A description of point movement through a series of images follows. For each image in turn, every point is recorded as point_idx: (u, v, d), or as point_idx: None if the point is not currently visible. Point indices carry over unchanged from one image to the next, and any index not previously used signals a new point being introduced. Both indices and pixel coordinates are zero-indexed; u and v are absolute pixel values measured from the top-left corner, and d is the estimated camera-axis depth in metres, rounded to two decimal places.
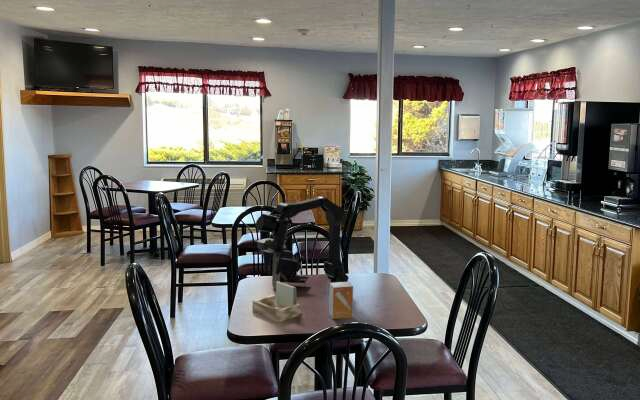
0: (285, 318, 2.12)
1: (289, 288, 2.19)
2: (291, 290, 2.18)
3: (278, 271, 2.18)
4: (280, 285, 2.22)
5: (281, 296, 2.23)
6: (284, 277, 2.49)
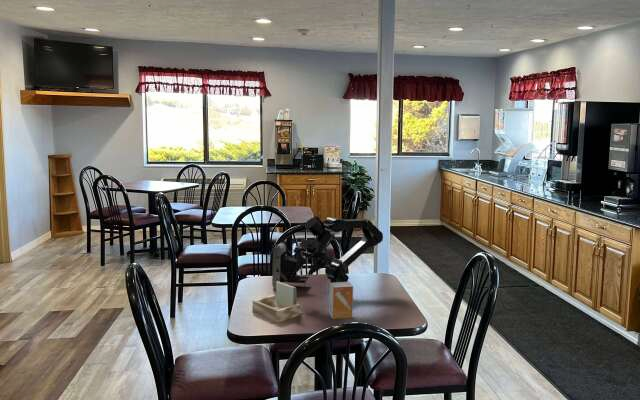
0: (285, 318, 2.12)
1: (289, 288, 2.19)
2: (291, 290, 2.18)
3: (311, 272, 2.25)
4: (280, 285, 2.22)
5: (281, 296, 2.23)
6: (284, 277, 2.49)
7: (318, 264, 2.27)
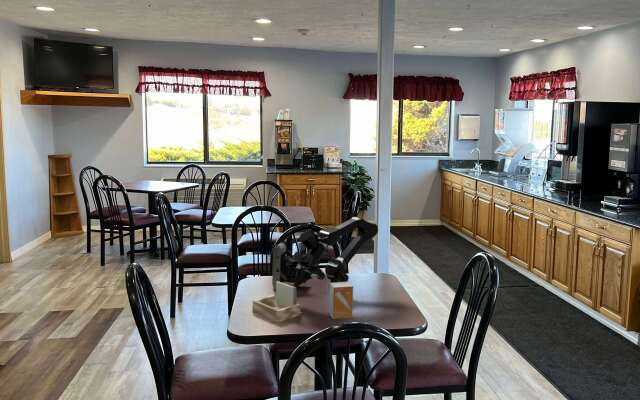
0: (285, 318, 2.12)
1: (289, 288, 2.19)
2: (291, 290, 2.18)
3: (297, 284, 2.26)
4: (280, 285, 2.22)
5: (281, 296, 2.23)
6: (284, 277, 2.49)
7: (305, 276, 2.27)
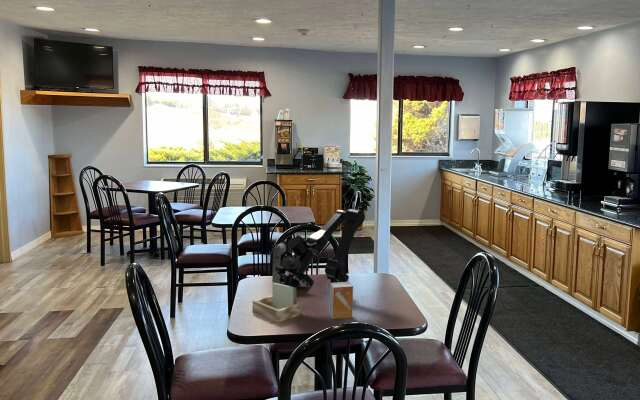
0: (285, 318, 2.12)
1: (288, 288, 2.18)
2: (291, 290, 2.17)
3: None
4: (277, 286, 2.21)
5: (279, 297, 2.21)
6: None
7: (293, 283, 2.23)
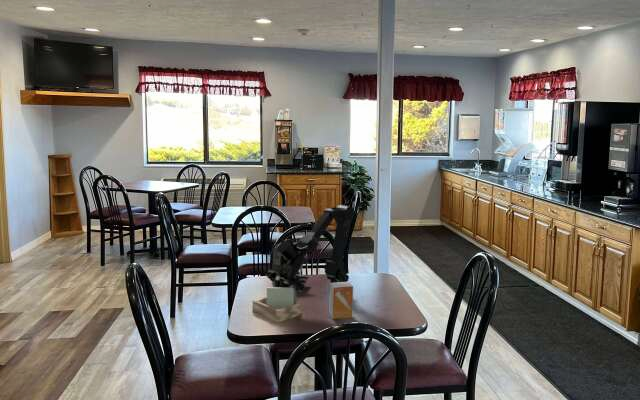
0: (285, 318, 2.12)
1: (287, 290, 2.16)
2: (290, 291, 2.17)
3: None
4: (273, 290, 2.16)
5: (275, 300, 2.17)
6: None
7: None
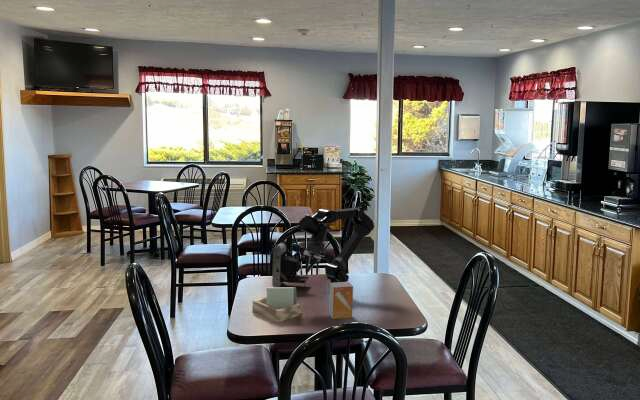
0: (285, 318, 2.12)
1: (287, 290, 2.16)
2: (290, 291, 2.17)
3: (309, 270, 2.28)
4: (273, 290, 2.16)
5: (275, 300, 2.17)
6: (284, 277, 2.49)
7: None
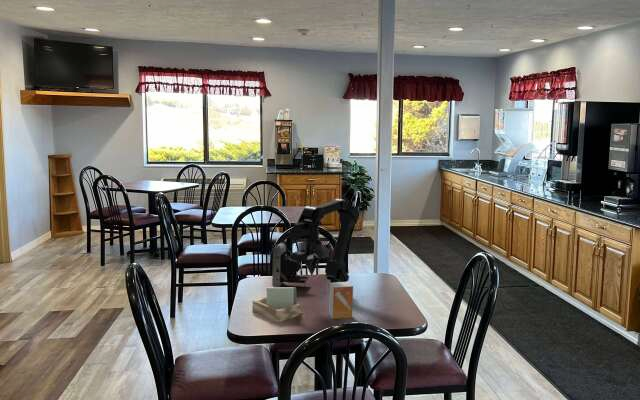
0: (285, 318, 2.12)
1: (287, 290, 2.16)
2: (290, 291, 2.17)
3: None
4: (273, 290, 2.16)
5: (275, 300, 2.17)
6: (284, 277, 2.49)
7: None
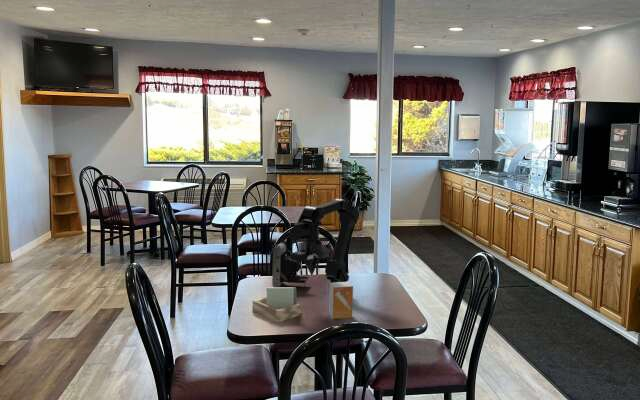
0: (285, 318, 2.12)
1: (287, 290, 2.16)
2: (290, 291, 2.17)
3: None
4: (273, 290, 2.16)
5: (275, 300, 2.17)
6: (284, 277, 2.49)
7: None
